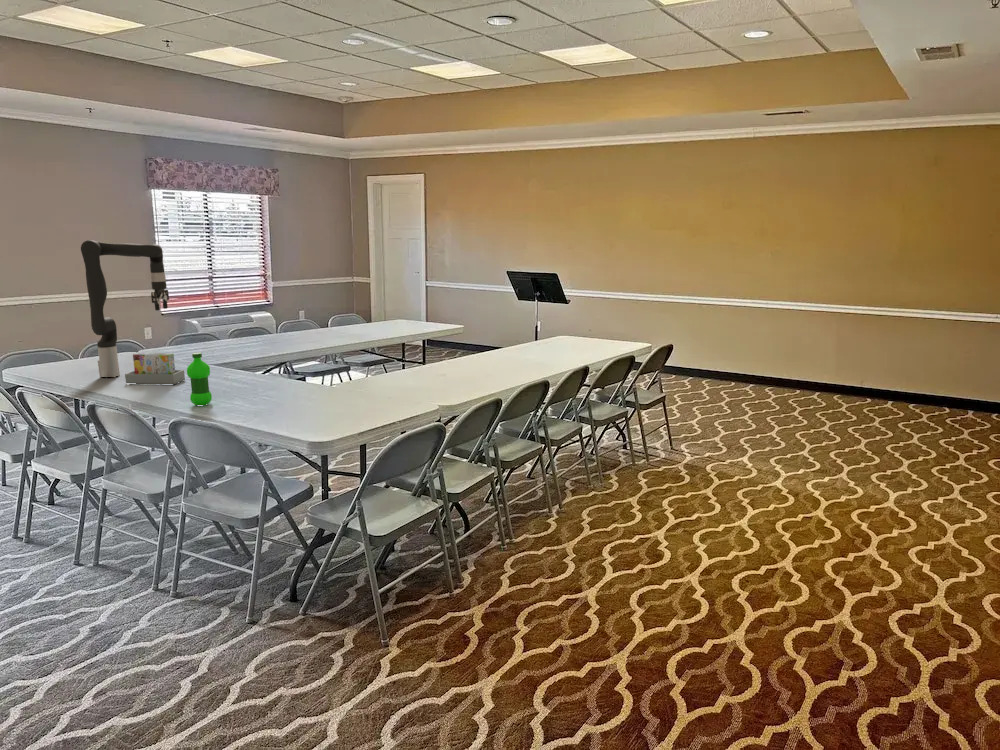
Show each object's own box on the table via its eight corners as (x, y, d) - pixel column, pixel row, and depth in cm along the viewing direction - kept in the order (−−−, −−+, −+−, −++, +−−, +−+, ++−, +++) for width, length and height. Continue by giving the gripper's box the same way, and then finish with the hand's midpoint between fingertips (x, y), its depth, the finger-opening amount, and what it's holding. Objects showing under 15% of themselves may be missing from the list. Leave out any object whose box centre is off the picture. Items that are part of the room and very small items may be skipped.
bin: (126, 384, 394) (124, 374, 393) (138, 379, 405) (137, 369, 404) (174, 385, 392) (173, 374, 391) (185, 380, 403) (183, 370, 402)
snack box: (176, 380, 400) (174, 353, 396) (170, 382, 394) (167, 355, 391) (141, 379, 403) (138, 352, 400) (134, 381, 398) (131, 353, 395)
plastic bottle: (194, 402, 356) (188, 351, 350) (216, 402, 356) (211, 351, 351) (186, 408, 346) (181, 355, 341) (209, 407, 347) (204, 355, 341)
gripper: (158, 281, 407) (161, 311, 410) (171, 279, 421) (174, 307, 424) (145, 281, 407) (148, 311, 411) (158, 279, 421) (161, 307, 425)
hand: (161, 309), depth 418 cm, fingers open, 8 cm apart
